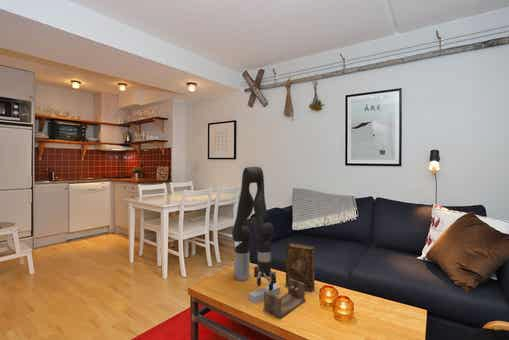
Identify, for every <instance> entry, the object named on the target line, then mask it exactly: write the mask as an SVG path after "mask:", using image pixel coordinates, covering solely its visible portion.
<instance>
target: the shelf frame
mask: <svg viewBox="0 0 509 340" xmlns="http://www.w3.org/2000/svg"><path fill="white" fill-rule="evenodd" d="M305 292H306V291H305V284H304V283H302V282H299V281H296V280H293V279H291V278H288V287H287V292H286V293H285V294H284V295H282V296H281V297H280V296H277V295H273V294H270V293H268V292H266V291H265V292H264V300H263V312H266V313H267V314H269V315H272V316H273V317H276V318H277V319H280V320H282V319H283V318H285V317H286V316H287V315H288V314H290V313H292V312H293V311H295V310H296V309H297V308H298V307H300V306H301V305H303V304H304V303H305V302H306V299H305V297H306V296H305Z"/></svg>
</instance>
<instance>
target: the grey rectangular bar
mask: <svg viewBox="0 0 509 340" xmlns="http://www.w3.org/2000/svg"><path fill="white" fill-rule="evenodd" d="M265 291H266V292H268V293H270V294H273V295H275V296H277V295H279V294H280V293H281V287H280V286H279V285H277V284H276V283H274V284H273V289H272V290H271V291H269V285H267V286H264V287H262V288H258V289H256V290H253V291H250V292H248V300H249V301H251V303H252V304H257V303H259V302H262V301H264V292H265Z"/></svg>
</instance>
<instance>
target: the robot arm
mask: <svg viewBox="0 0 509 340" xmlns="http://www.w3.org/2000/svg"><path fill="white" fill-rule="evenodd" d="M255 183H256V193H255V196H254V197H253V196H252V193H251V192H250V185H251V184H255ZM239 194H240V196H239V200H238V205H237V210H236V217H235V221H234V224H233V228H232V233H231V237H232V240H233V242H236V243H238V244H237V245H236V246H235V247H234V258H235V259H234V260H235V261H234V262H233V263H234V265H233V270H234V271H233V275H234V276H233V277H234V278H235V280H237V281H240V282H241V281H242V282H243V281H247V280H249V279H250V273H251V272H250V271H251V270H250V248H251V230H250V227H249V226H248V225H244V224H245V222H246V221H247V220H248V219H249V217H250V216H251V215H252V213H253V211H254V225H253V226H254V227H253V228H254V229H253V230H254V234H255V235H256V236H257V237H258V238H262V237H263V238H262V239H260V240H258V242H257V265H256V266H254V267H253V277H254V278H255V279H256V285H257V287H260V286H261V285H262V278H263V279H266V281H267V282H268V286H269V291H271V290H272V289H273V284H276V283H277V275H276V271H272V252H271V251H272V250H271V249H272V247H271V244H272V239H273V236H274V231H275V230H274V225H273V224H272V223H271V222H267V221H266V222H263V220H264V219H266V218H267V217H269V216H268V210H267V205H266V197H265V176H264V171H263V169H262V167H260V166H249V167H248V166H247V167H244V168H243V172H242V177H241V188H240V193H239ZM239 242H240V243H239Z"/></svg>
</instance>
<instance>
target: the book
mask: <svg viewBox="0 0 509 340" xmlns="http://www.w3.org/2000/svg"><path fill="white" fill-rule="evenodd" d="M315 256H316V255H315V246H313V245H307V244H300V243H294V242H293V243H291V242H290V243H288V245H286V246H285V286H286V288H288V278H291V279H293V280H296V281H299V282H302V283H304V284H305V292H307V293H308V292H309V293H314V291H315Z"/></svg>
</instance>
